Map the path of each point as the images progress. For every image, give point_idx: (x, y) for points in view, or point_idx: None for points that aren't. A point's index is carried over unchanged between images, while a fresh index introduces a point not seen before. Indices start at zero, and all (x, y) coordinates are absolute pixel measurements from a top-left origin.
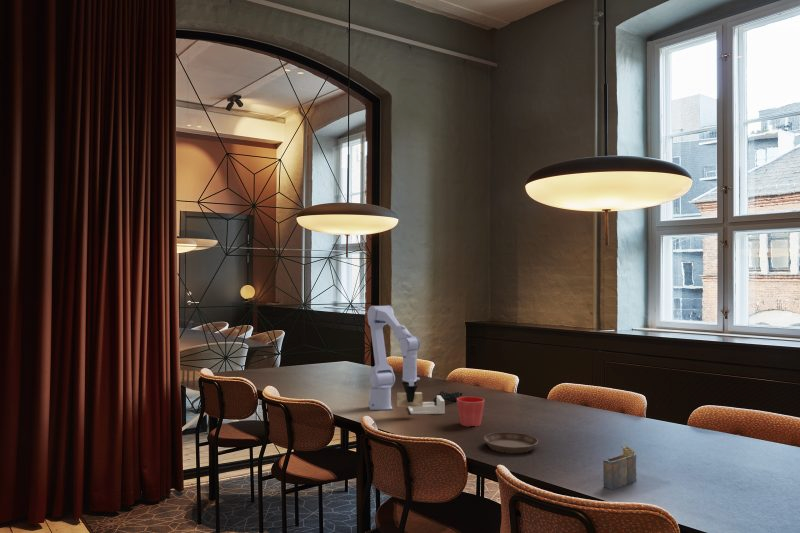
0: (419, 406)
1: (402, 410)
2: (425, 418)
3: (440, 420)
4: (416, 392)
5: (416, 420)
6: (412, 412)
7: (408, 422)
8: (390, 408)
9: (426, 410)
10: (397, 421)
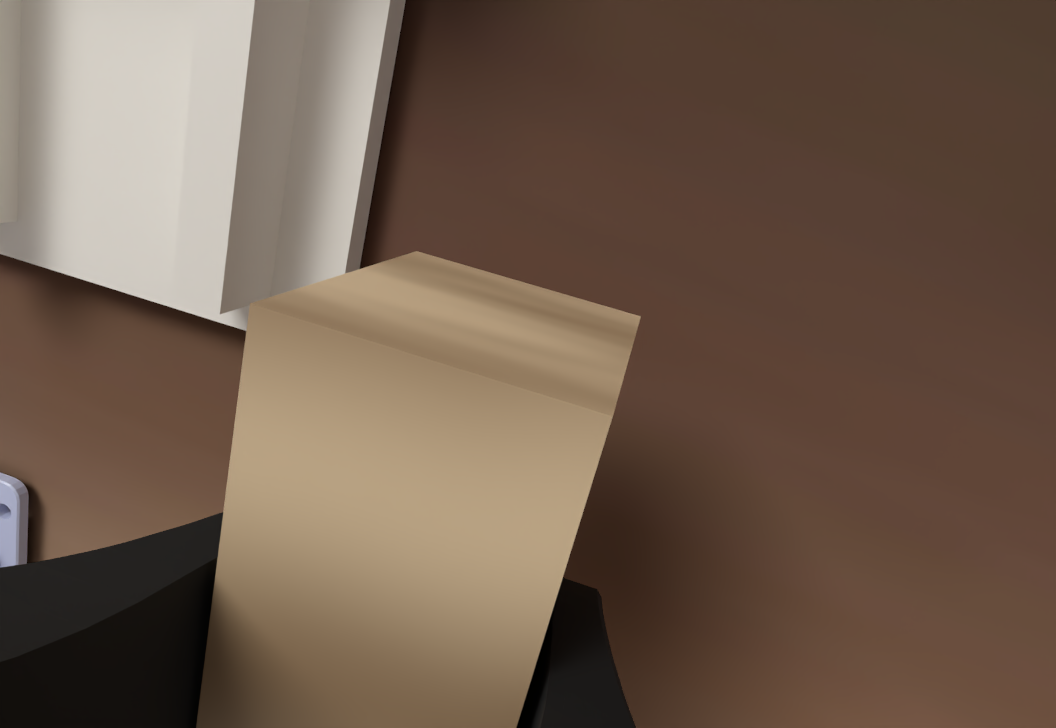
0: (235, 190)
1: (83, 365)
2: (701, 239)
3: (990, 15)
4: (298, 498)
5: (776, 439)
6: None
7: (850, 603)
8: (17, 511)
9: (298, 54)
10: (714, 705)
